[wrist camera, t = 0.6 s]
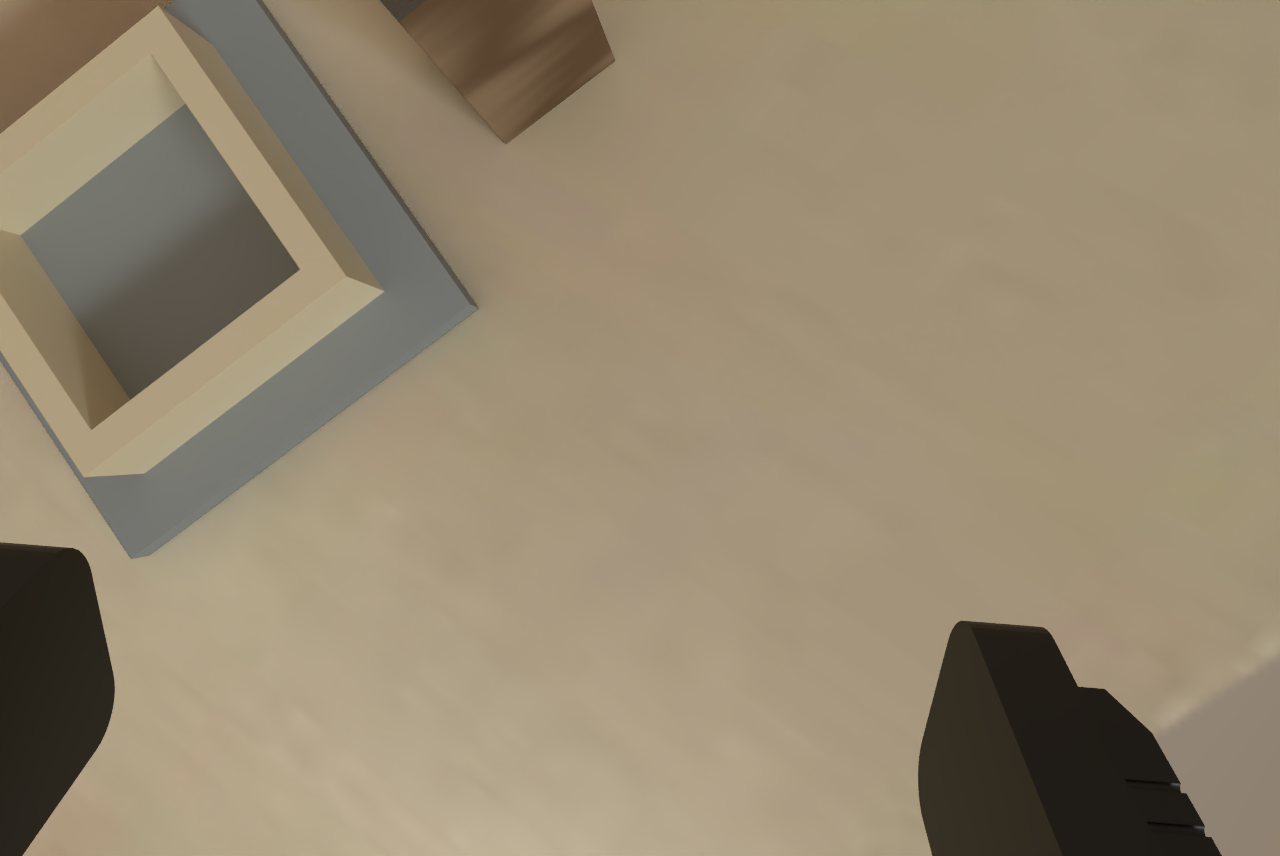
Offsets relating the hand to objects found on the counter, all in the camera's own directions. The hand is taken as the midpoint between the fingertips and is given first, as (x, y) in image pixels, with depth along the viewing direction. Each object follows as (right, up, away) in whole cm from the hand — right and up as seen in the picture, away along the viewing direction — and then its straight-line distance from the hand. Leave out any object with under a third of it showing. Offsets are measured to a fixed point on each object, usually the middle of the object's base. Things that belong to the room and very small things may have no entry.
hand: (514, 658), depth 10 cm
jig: (-14, +8, +25) cm, 29 cm away
